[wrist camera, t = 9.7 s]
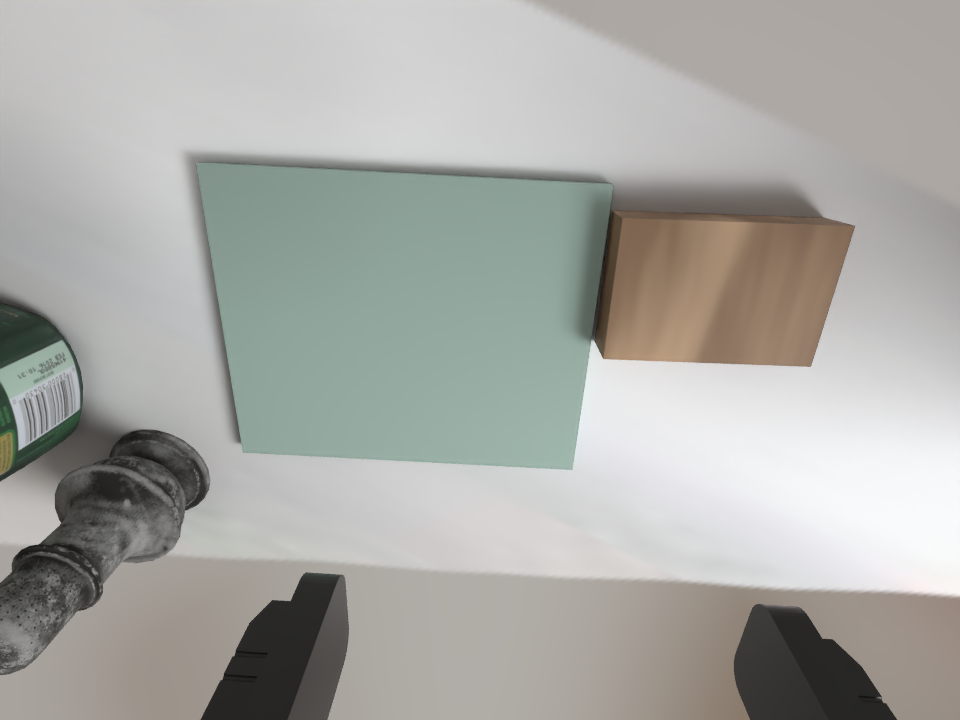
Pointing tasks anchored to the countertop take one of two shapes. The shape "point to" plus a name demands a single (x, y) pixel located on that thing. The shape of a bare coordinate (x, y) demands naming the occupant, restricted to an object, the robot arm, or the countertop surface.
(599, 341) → the slab
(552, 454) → the mat
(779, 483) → the countertop surface
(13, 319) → the coffee jar
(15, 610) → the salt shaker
